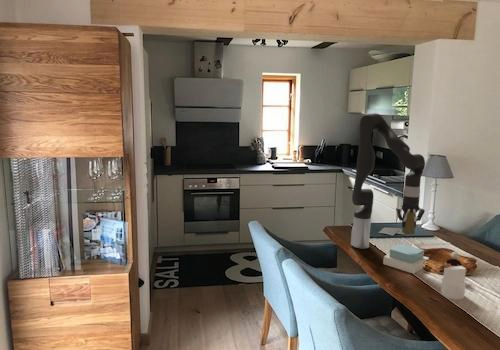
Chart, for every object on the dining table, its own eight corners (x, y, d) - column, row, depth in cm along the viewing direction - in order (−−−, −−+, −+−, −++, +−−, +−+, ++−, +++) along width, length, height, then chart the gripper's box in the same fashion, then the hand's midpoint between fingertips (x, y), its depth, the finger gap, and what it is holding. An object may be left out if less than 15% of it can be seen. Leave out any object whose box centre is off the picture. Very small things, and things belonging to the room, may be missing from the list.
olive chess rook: (399, 230, 206) (401, 209, 204) (411, 230, 206) (413, 209, 204) (405, 234, 200) (407, 212, 198) (417, 234, 200) (419, 212, 198)
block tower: (383, 263, 207) (384, 248, 205) (398, 256, 217) (399, 241, 216) (413, 273, 195) (415, 258, 194) (428, 265, 206) (429, 250, 204)
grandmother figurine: (460, 277, 192) (463, 251, 190) (461, 280, 189) (464, 254, 186) (442, 274, 195) (445, 249, 192) (443, 277, 191) (446, 252, 189)
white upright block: (451, 300, 169) (454, 273, 167) (436, 291, 178) (438, 265, 175) (469, 298, 172) (472, 271, 169) (453, 288, 180) (455, 263, 178)
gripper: (399, 196, 196) (396, 230, 199) (429, 196, 196) (425, 231, 199) (394, 192, 204) (391, 225, 207) (423, 193, 203) (420, 226, 206)
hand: (408, 228), depth 203 cm, fingers closed on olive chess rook, 4 cm apart
